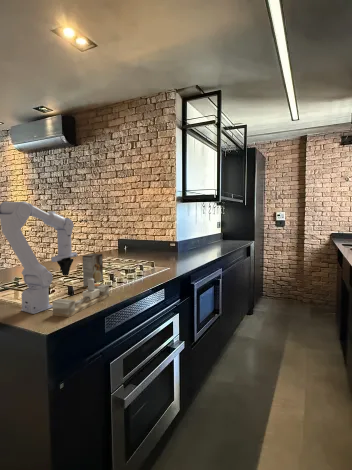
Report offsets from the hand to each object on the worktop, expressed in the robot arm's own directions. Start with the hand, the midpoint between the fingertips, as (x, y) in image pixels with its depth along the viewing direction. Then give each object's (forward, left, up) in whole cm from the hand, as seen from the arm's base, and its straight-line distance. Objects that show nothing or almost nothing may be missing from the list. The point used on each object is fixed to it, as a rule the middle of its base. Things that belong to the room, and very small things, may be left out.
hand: (65, 275), depth 131 cm
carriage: (+2, -13, -9) cm, 16 cm away
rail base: (-3, -14, -10) cm, 18 cm away
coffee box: (+23, +6, -11) cm, 26 cm away
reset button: (+8, -10, -8) cm, 16 cm away
